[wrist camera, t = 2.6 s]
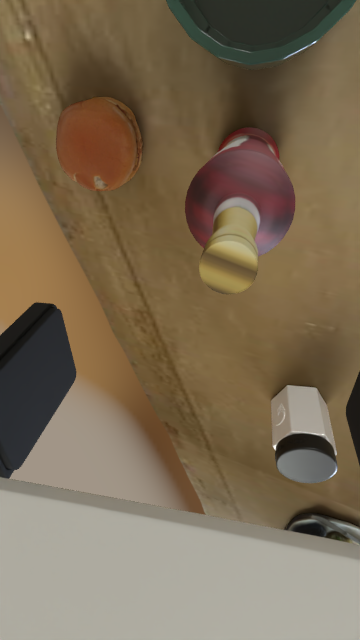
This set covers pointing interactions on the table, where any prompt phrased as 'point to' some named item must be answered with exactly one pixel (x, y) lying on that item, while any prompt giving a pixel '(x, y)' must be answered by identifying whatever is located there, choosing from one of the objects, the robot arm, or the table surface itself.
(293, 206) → the liquor
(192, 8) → the ice bucket
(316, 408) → the jar
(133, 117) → the burger
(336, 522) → the salad plate
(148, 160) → the table surface
